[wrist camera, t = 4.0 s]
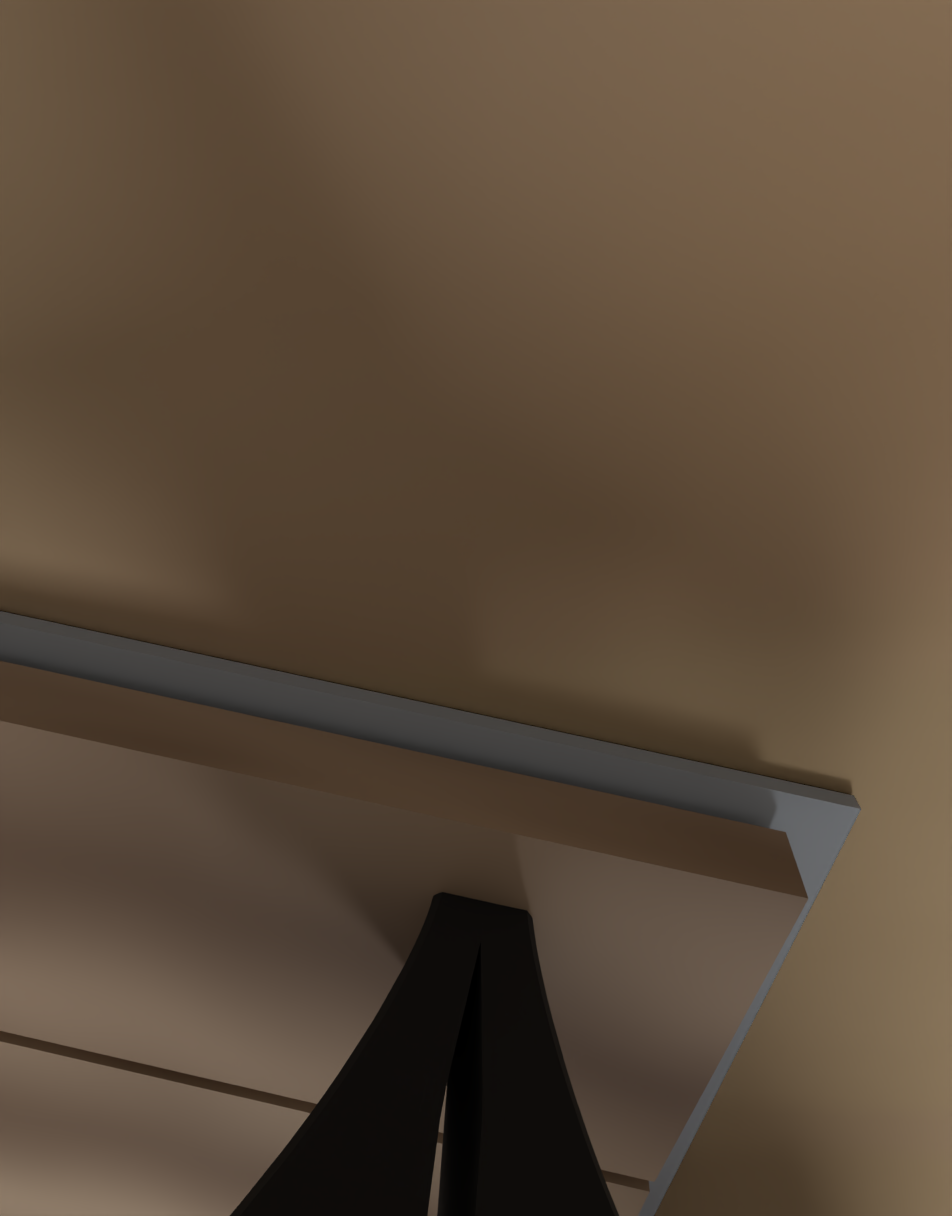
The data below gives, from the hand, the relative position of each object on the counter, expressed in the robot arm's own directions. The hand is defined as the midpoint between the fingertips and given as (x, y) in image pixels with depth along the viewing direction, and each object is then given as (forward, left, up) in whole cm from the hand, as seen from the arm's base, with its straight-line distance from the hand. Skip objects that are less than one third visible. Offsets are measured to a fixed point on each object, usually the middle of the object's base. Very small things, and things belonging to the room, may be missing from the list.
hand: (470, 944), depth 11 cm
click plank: (-1, +3, -1) cm, 3 cm away
